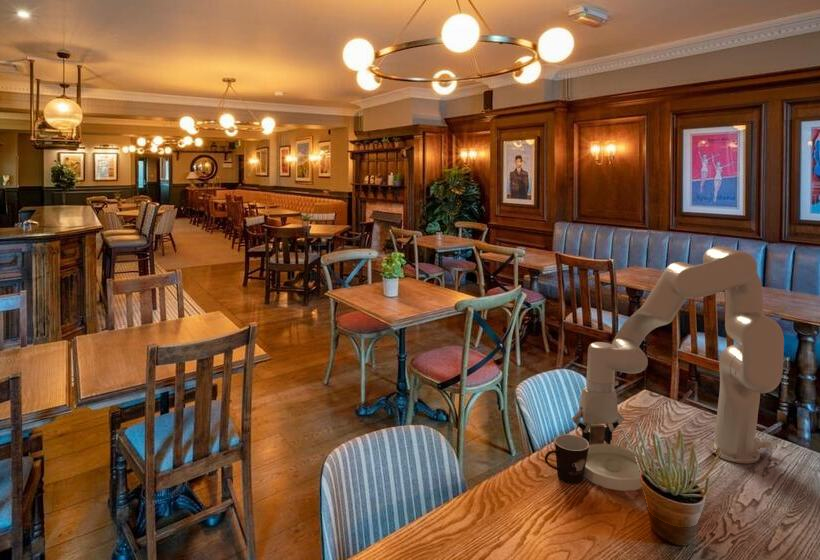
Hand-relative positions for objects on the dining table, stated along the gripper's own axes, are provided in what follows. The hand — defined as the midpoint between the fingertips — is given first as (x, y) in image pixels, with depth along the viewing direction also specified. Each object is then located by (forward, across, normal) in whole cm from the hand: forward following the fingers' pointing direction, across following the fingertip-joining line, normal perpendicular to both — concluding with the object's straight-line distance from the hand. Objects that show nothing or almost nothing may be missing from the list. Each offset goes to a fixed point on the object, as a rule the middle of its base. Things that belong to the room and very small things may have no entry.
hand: (596, 442), depth 150 cm
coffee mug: (+1, +15, +16) cm, 22 cm away
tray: (+1, +1, +14) cm, 14 cm away
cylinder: (+1, 0, 0) cm, 1 cm away
